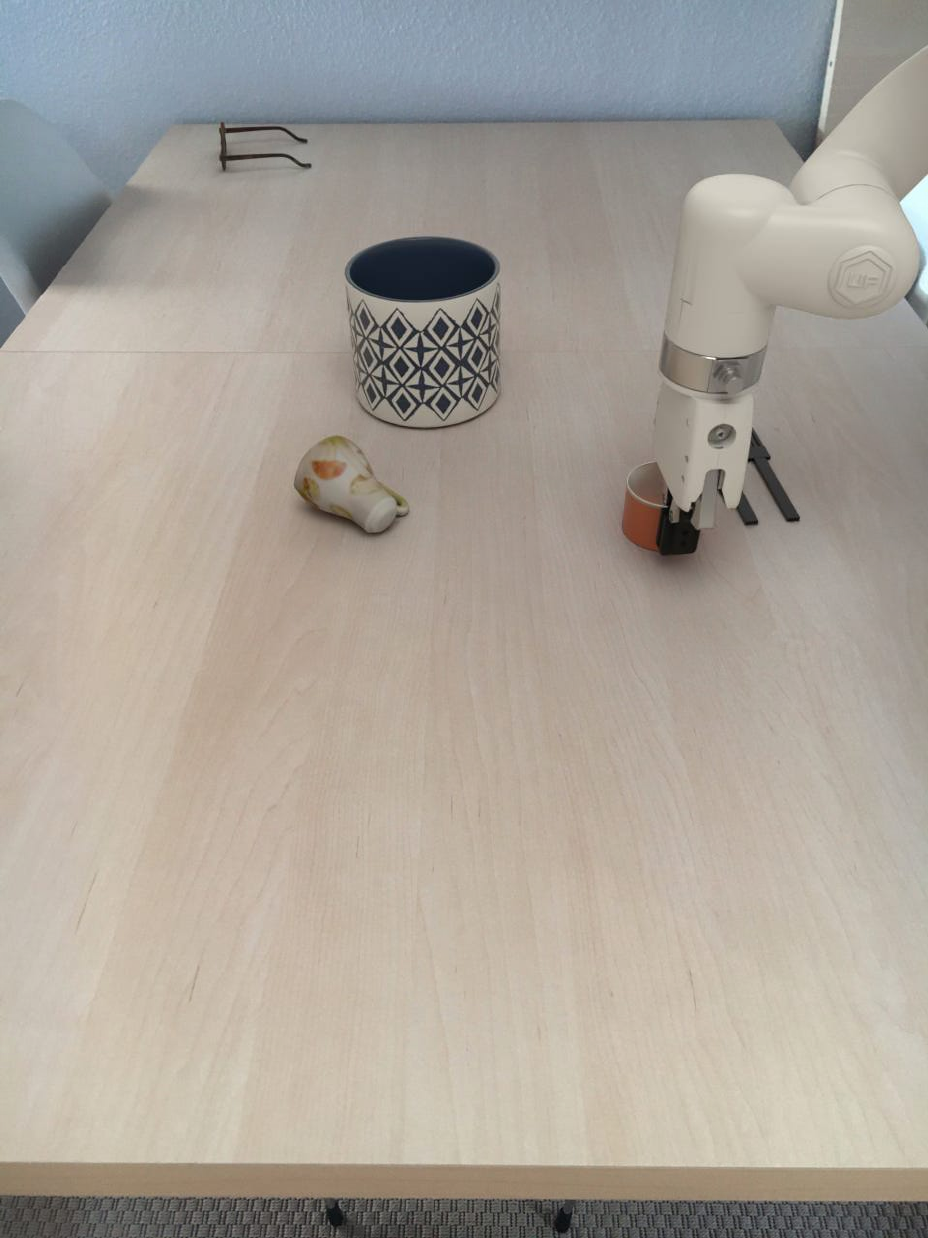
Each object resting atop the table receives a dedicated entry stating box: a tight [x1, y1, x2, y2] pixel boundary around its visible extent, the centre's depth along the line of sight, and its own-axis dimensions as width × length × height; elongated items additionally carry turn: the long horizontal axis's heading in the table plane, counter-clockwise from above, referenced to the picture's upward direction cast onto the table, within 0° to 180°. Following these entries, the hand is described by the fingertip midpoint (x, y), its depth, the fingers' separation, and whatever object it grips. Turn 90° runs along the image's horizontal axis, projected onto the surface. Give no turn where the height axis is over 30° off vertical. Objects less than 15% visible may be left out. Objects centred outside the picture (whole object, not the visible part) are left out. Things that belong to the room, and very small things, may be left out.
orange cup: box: [621, 460, 667, 552], centre depth 90 cm, size 7×7×5 cm
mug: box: [293, 435, 410, 534], centre depth 92 cm, size 8×10×10 cm
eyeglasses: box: [218, 121, 312, 171], centre depth 166 cm, size 15×15×5 cm
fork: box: [747, 426, 801, 522], centre depth 97 cm, size 16×2×1 cm, turn 6°
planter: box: [343, 235, 502, 429], centre depth 105 cm, size 16×16×14 cm
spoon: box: [735, 490, 759, 526], centre depth 97 cm, size 15×4×1 cm, turn 6°
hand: (675, 548), depth 86 cm, fingers closed
